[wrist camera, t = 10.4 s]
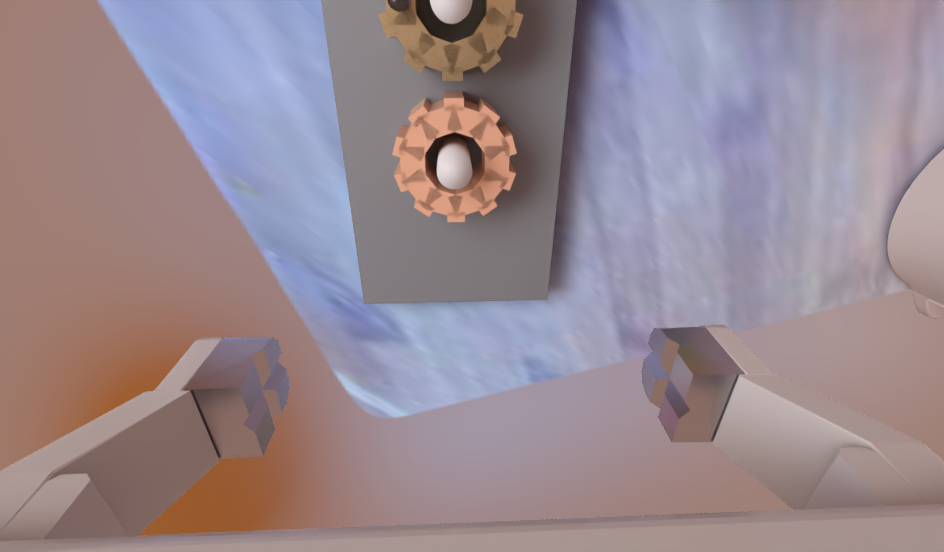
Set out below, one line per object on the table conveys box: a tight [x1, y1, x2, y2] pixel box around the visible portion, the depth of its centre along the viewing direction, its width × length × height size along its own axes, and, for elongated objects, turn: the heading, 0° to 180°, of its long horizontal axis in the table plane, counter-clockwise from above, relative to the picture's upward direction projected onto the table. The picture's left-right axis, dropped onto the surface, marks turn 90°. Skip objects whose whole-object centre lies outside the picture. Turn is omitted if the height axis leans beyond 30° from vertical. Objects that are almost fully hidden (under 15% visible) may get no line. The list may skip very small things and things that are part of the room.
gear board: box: [321, 0, 577, 304], centre depth 25 cm, size 13×22×6 cm, turn 0°
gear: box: [378, 0, 523, 81], centre depth 20 cm, size 7×7×4 cm
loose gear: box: [392, 91, 517, 222], centre depth 25 cm, size 7×7×3 cm
